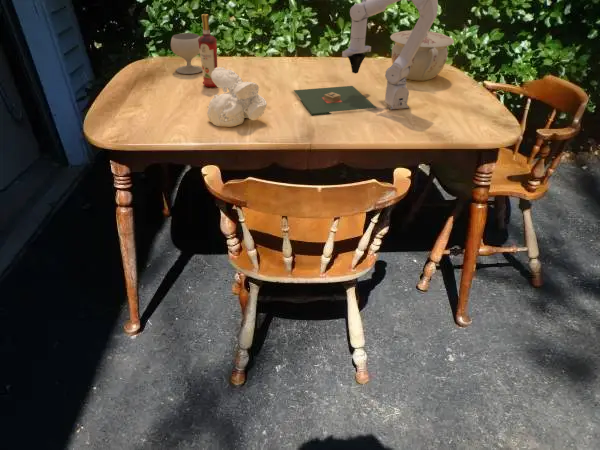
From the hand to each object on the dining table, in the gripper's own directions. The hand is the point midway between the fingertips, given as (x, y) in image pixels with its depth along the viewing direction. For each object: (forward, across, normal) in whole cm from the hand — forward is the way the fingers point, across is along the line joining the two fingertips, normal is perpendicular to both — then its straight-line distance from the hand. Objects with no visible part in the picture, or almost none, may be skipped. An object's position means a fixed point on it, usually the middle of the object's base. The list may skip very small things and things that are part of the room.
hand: (355, 72), depth 189 cm
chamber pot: (+9, -40, +1) cm, 41 cm away
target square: (+9, +13, 0) cm, 16 cm away
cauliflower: (+9, +52, -8) cm, 54 cm away
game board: (+9, +11, 0) cm, 14 cm away
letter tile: (+8, +13, 0) cm, 15 cm away
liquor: (+9, +40, -45) cm, 61 cm away
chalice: (+9, +36, -69) cm, 78 cm away
